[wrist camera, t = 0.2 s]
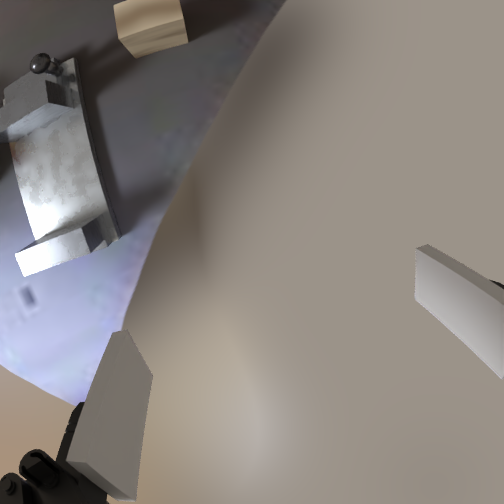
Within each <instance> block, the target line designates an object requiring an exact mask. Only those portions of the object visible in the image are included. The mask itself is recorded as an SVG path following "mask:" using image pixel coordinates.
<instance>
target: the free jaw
mask: <svg viewBox="0 0 504 504" xmlns="http://www.w3.org/2000/svg"><path fill="white" fill-rule="evenodd" d="M30 70H31V71H30V72H28V73H27V74H25V75H24V76H22V77H21V78H19V79H18V80H16V81H15V82H13V83H12V84H10V85H9V86H7V87H6V88H5V89H4V96H5V105H4V106H3V107H2V108H0V143H10V142H15V141H17V140H18V139H20V138H21V137H23V136H25V135H26V134H28V133H30V132H31V131H33V130H35V129H37V128H38V127H40V126H42V125H44V124H45V123H47V122H49V121H51V120H53V119H55V118H57V117H59V116H60V115H62V114H64V113H66V112H68V111H70V110H73V109H74V104H73V99H72V93H71V89H70V88H68V87H65V86H63V79H62V73H63V71H64V68H63V66H61V64H60V61H59V60H57V59H55V58H52V59H51V58H50V56H49V55H48V54H46V53H40V54H37V55H36V56H35V57H34V58H33V59H32V60H31V63H30Z"/></svg>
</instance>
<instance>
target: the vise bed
mask: <svg viewBox="0 0 504 504" xmlns="http://www.w3.org/2000/svg"><path fill="white" fill-rule="evenodd" d="M61 66H63V68H64V71H63V73H62V79H63V86H65V87H68V88H70V89H71V93H72V99H73V104H74V109H73V110H70V111H68V112H66V113H64V114H62V115H60V116H59V117H57V118H55V119H53V120H51V121H49V122H47V123H45V124H44V125H42V126H40V127H38V128H37V129H35V130H33V131H31V132H30V133H28V134H26V135H25V136H23V137H21V138H20V139H18V140H17V141H15V142H10V143H9V145H10V150H11V155H12V160H13V164H14V168H15V173H16V177H17V181H18V184H19V188H20V192H21V195H22V199H23V202H24V205H25V209H26V212H27V215H28V218H29V221H30V224H31V227H32V230H33V233H34V235H35V238H36V241H34V242H33V243H31V244H30V245H28V246H27V247H25V248H24V249H22V250H21V251H19V252H18V253H16V254H15V256H16V258H17V261H18V263H19V265H20V268H21V270H22V273H23V275H24V276H27V275H29V274H32V273H35V272H38V271H41V270H43V269H46V268H49V267H52V266H55V265H58V264H61V263H64V262H66V261H69V260H72V259H75V258H78V257H81V256H84V255H87V254H90V253H92V252H94V251H97V250H100V249H103V248H106V247H108V246H109V245H110V244H111V243H112V242H114V241H117V240H119V239H120V238H121V237H122V236H121V233H120V230H119V227H118V224H117V221H116V218H115V215H114V212H113V209H112V206H111V203H110V200H109V196H108V193H107V190H106V186H105V183H104V180H103V176H102V173H101V169H100V165H99V162H98V158H97V154H96V150H95V146H94V142H93V138H92V134H91V130H90V125H89V121H88V116H87V111H86V106H85V101H84V96H83V91H82V85H81V79H80V73H79V66H78V60H77V59H75V58H71V59H69V60H67V61H65V62H64V63H62V64H61ZM4 105H5V99H3V106H4Z"/></svg>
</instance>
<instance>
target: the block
mask: <svg viewBox="0 0 504 504" xmlns="http://www.w3.org/2000/svg"><path fill="white" fill-rule="evenodd" d="M114 13H115V20H116V26H117V32H118V38H119V40H120V41H121V42H122V44H123V45H124V46H125V47H126V48H127V49H128V50H129V52H130V53H131V54H132V55H133V56H134V57H135V59H136V58H139V57H142V56H145V55H148V54H151V53H154V52H157V51H161V50H164V49H167V48H171V47H174V46H178V45H182V44H185V43H188V38H187V33H186V28H185V23H184V18H183V14H182V10H181V6H180V1H179V0H127V1H124V2H121V3H119V4H116V5H114Z"/></svg>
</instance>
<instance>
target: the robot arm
mask: <svg viewBox="0 0 504 504" xmlns="http://www.w3.org/2000/svg"><path fill="white" fill-rule="evenodd" d="M415 300H416V301H417V302H419V303H420V304H421V305H422V306H423V307H424V308H426V309H427V310H428V311H429V312H430V313H431V314H432V315H434V316H435V317H436V318H437V319H438V320H439V321H440V322H442V323H443V324H444V325H445V326H446V327H447V328H448V329H449V330H450V331H452V332H453V333H454V334H455V335H456V336H457V337H458V338H459V339H460V340H461V341H462V342H463V343H465V344H466V345H467V346H468V347H469V348H470V349H471V350H472V351H473V352H474V353H475V354H476V355H477V356H478V357H479V358H481V360H482V361H484V362H485V363H486V364H487V365H488V366H489V367H490V368H491V369H492V370H493V371H494V372H495V373H496V374H497V375H498V376H499V377H500V378H501V379H503V378H504V285H502V284H501V283H499V282H495V281H492V280H488V279H487V278H485V277H483V276H482V275H480V274H478V273H477V272H475V271H473V270H472V269H470V268H469V267H467V266H465V265H464V264H462V263H460V262H458V261H457V260H455V259H453V258H451V257H450V256H448V255H446V254H445V253H443V252H441V251H439V250H437V249H435V248H434V247H432V246H430V245H428V244H427V245H424V246H421V247H418V248H416V278H415ZM152 379H153V375H152V373H151V371H150V370H149V368H148V366H147V364H146V363H145V361H144V359H143V357H142V356H141V354H140V352H139V350H138V348H137V346H136V345H135V343H134V341H133V339H132V337H131V335H130V333H129V331H128V330H123V331H118V332H113V333H112V335H111V338H110V340H109V342H108V345H107V347H106V349H105V352H104V354H103V357H102V359H101V361H100V364H99V366H98V369H97V371H96V374H95V377H94V379H93V382H92V384H91V387H90V390H89V392H88V395H87V398H86V400H85V402H80V403H79V404H78V405H77V406H76V408H75V409H74V410H73V412H72V414H71V417H70V419H69V422H68V423H69V425H67V428H66V433H65V434H64V436H63V440H62V442H61V446H60V448H59V451H58V455H57V458H56V461H54V460H53V459H52V458H51V457H50V456H49V455H47V454H46V453H45V452H44V451H42V450H40V449H34V450H32V451H29V452H28V453H27V454H25V455H24V457H23V458H22V460H21V461H20V465H19V473H20V474H21V475H22V476H23V477H24V478H25V479H27V480H23V479H22V478H21V477H19V476H18V475H17V474H15V473H8V474H6V475H4V476H3V478H2V479H1V480H0V504H109V503H108V502H107V501H106V499H107V494H108V495H110V496H111V497H113V498H114V499H116V500H117V501H136V496H137V485H138V475H139V466H140V458H141V450H142V442H143V435H144V428H145V421H146V414H147V408H148V402H149V396H150V390H151V384H152Z"/></svg>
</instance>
